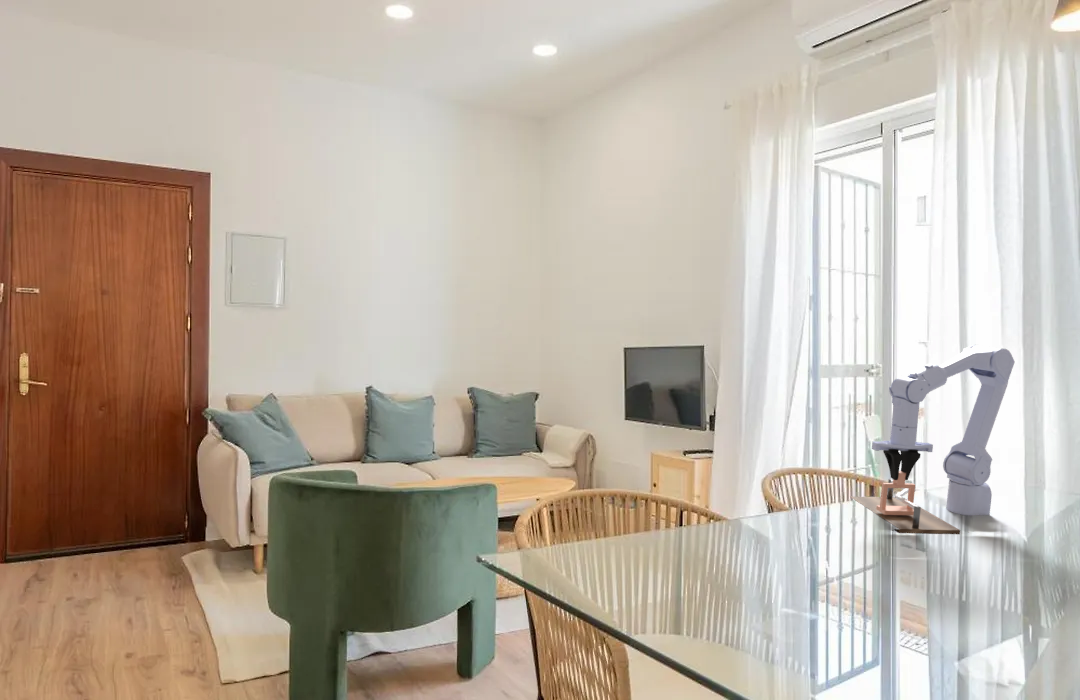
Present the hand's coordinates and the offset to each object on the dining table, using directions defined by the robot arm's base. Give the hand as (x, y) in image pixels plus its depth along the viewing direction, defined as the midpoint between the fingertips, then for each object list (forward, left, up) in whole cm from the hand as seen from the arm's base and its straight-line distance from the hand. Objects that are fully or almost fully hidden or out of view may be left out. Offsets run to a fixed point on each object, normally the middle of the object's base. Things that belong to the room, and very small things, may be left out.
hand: (899, 479), depth 186 cm
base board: (-3, -2, -10) cm, 11 cm away
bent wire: (-3, -2, -10) cm, 11 cm away
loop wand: (0, 0, -9) cm, 9 cm away
